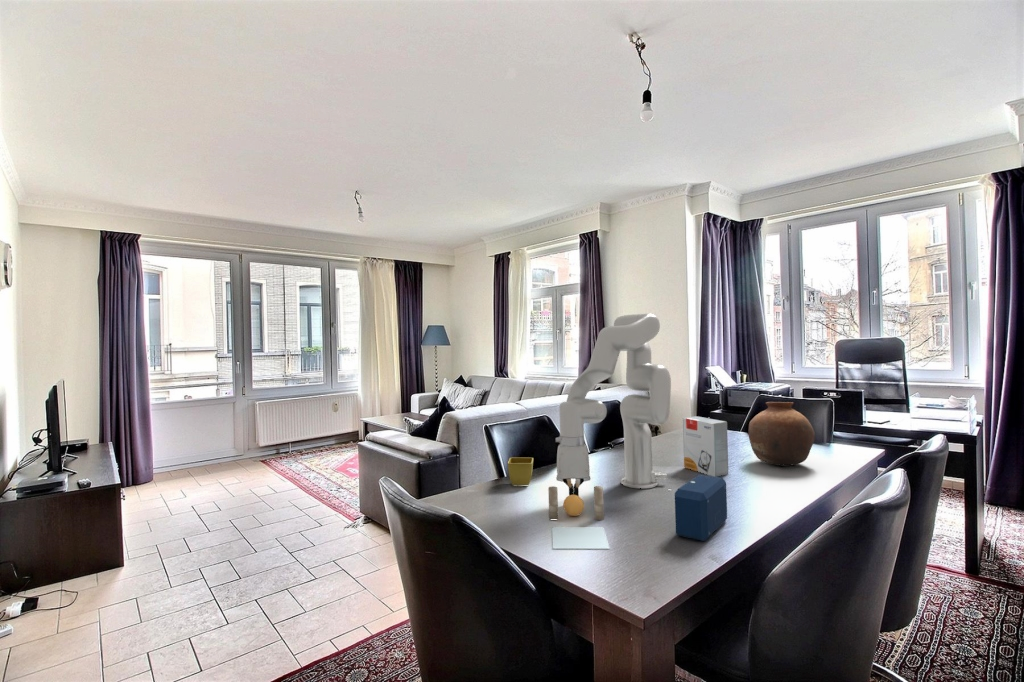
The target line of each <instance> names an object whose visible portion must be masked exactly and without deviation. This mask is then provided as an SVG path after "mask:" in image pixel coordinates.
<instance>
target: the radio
mask: <svg viewBox="0 0 1024 682" xmlns="http://www.w3.org/2000/svg"><path fill="white" fill-rule="evenodd" d="M706 459H707V451H706ZM727 497H728V495H727V482H726V480H725V479H724V478H723V477H720V476H717V477H713V476H710V475H708V469H707V475H706V474H697V476H695V477H694V478H691V479H690V480H689V481H688V482H686V483H685V484H683V485H682V486H680V487H679V488H677V489H676V490H675V492H674V512H675V513H674V515H675V517H674V518H675V519H674V520H675V521H674V522H675V535H678V536H679V537H683V538H688V539H692V540H697V541H700V542H706V540H708V539H709V538H710V537H711V536H712V535H713V534H712V533H713V532H714V531H715V530H716V531H717V529H718V528H720V527H721V526H722V524H723V523H725V522H726V520H727V519H728V504H727V503H728V501H727V500H728V499H727ZM716 531H715V532H716ZM715 532H714V533H715ZM711 534H712V535H711Z"/></svg>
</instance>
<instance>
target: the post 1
mask: <svg viewBox="0 0 1024 682" xmlns="http://www.w3.org/2000/svg"><path fill="white" fill-rule="evenodd" d="M547 490H548V517H549V518H550V519H559V504H558V503H559V499H558V498H559V497H558V487H557V486H555V485H554V486H552V485H551V486H548V489H547ZM549 518H548V519H549ZM550 519H549V520H550Z"/></svg>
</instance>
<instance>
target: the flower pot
mask: <svg viewBox="0 0 1024 682" xmlns="http://www.w3.org/2000/svg"><path fill="white" fill-rule="evenodd" d="M533 466H534V457H509V459H508V461H507V469H508V476H509V479H510V482H511V485H512V486H513V485H528V486H529V485H530V483H531V479H532V476H533V468H534V467H533Z"/></svg>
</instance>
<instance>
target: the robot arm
mask: <svg viewBox="0 0 1024 682" xmlns="http://www.w3.org/2000/svg"><path fill="white" fill-rule="evenodd" d="M660 329H661V323H660V320H659V318H658V316H656V315H654V314H652V313H639V314H626V315H624V314H623V315H621V316H619V317H617V318H616V319H614V322H613V325H611V326H605V327H602V329H601V330H600V331H599V333H598V336H597V339H596V342H595V344H594V349H593V352H592V354H591V357H590V359H589V360H590V361H589V364H588V366H587V368H585V369H584V371H582V372H581V373H580V375H579V376H578V377H577V378H576V379H575V380H574V382H573V383H572V385H571V387H570V388H569V392H568V395H567V398H566V401H564V402H563V401H562V402H561V403H560V404H559V407H558V408H559V410H558V413H559V436H558V437H555V443H559V444H558V446H557V453H556V474H557V475H556V477H555V478H556V481H558V482H563V483H564V484H565V485H566V486H567V487H568V496H569V495H577V496H579V497H580V495H579V492H580V491H579V490H580V489H579V487H580V486H581V485H582V484H583V483H584V482H589V481H591V474H590V471H591V469H590V467H591V466H590V457H589V450H588V446H587V445H586V444H585V429H584V428H585V424H599V423H601V422H602V421H603V420H605V418H606V417H607V413H608V410H607V406H606V405H605V404H604V403H603V401H600V400H598V399H591V398H586V397H587V394H588V393H589V391H590V390H591V389H592V388H593V387H594V386H596V385H597V384H599V383H601V382H603V381H606V380H607V379H609V378H611V377H612V376H613V374H614V373H615V369H616V366H617V362H618V358H619V355H620V353H621V352H626V368H625V369H626V370H625V371H626V372H625V383H626V385H627V388H628V389H630V390H632V391H633V390H634V391H638V392H649V395H646V394H636V393H634V394H628V395H626V396H624V397H623V398H622V400H621V402H620V406H619V410H620V415H621V419H622V426H623V442H624V443H623V444H624V446H623V447H624V470H625V471H624V473H625V474H624V477H622V478H621V480H620V484H623V485H622V486H624V487H627V488H631V489H640V488H641V489H652V488H655V487H656V486H658V483H659V482H658V480H667V478H668V475H667V473H662V472H655V471H654V469H653V445H652V444H653V441H652V440H653V439H652V437H653V436H652V431H651V429H650V426H649V424H650V425H651V424H652V425H662V424H664V423H666V422H667V421H668V418H670V417H669V415H670V413H671V410H670V409H671V396H672V395H671V393H672V379H671V374H670V371H669V370H668V368H667V367H666V366H663V365H662V364H653V363H652V349H651V346H650V344H649V342H650V341H651V340H653V339H654V338H655V337H656V336H657V335H658V334H659V332H660ZM574 479H575V482H574V485H573V483H572V480H574Z"/></svg>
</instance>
